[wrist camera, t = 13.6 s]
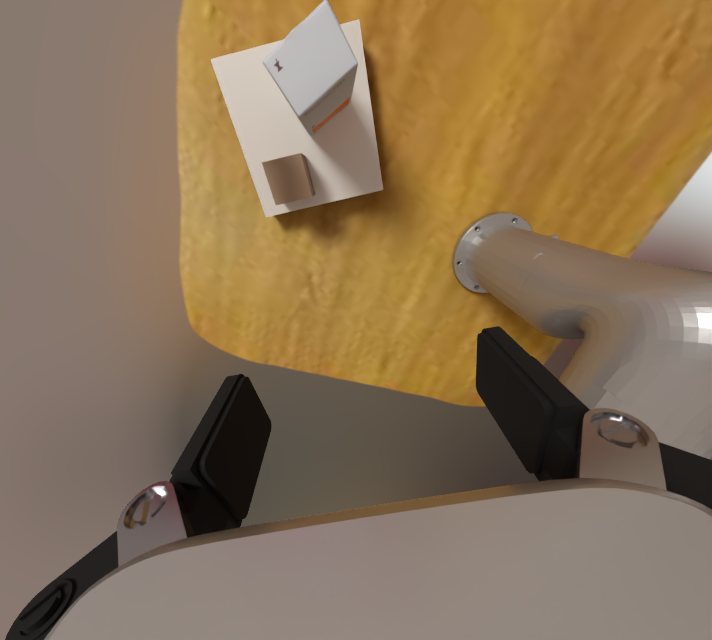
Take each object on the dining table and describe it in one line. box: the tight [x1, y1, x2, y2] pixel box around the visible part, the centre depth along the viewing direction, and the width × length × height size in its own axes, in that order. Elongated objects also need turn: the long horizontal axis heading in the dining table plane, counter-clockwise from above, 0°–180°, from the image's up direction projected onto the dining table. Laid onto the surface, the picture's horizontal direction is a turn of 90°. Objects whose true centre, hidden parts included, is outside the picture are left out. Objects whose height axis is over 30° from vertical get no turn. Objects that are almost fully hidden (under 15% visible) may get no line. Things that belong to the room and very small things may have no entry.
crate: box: [262, 153, 315, 205], centre depth 32 cm, size 4×4×4 cm
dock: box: [210, 20, 383, 217], centre depth 33 cm, size 16×16×3 cm
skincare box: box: [263, 0, 358, 136], centre depth 25 cm, size 6×4×12 cm
